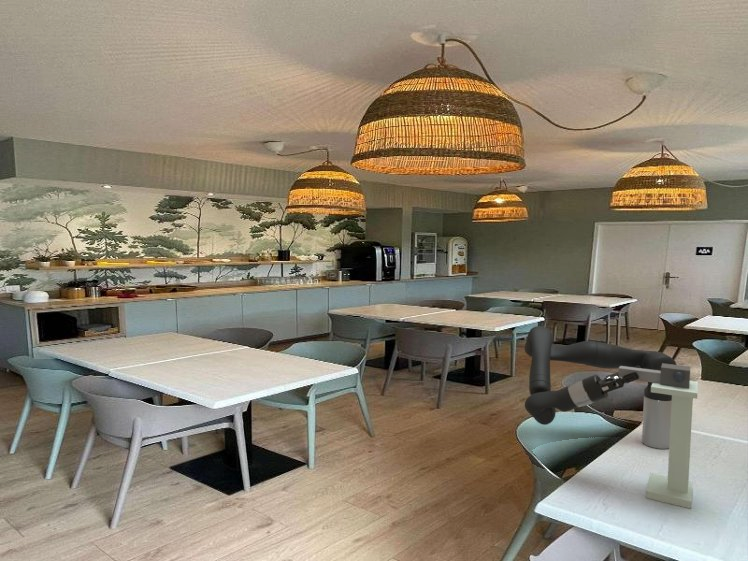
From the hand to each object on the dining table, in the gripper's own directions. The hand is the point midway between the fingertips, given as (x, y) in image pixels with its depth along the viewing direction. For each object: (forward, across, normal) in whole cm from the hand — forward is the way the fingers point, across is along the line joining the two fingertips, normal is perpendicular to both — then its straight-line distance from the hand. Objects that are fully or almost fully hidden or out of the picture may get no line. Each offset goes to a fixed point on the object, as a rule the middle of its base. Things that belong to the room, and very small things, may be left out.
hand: (639, 371), depth 151 cm
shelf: (-9, 0, -34) cm, 35 cm away
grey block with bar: (+2, 0, -4) cm, 4 cm away
